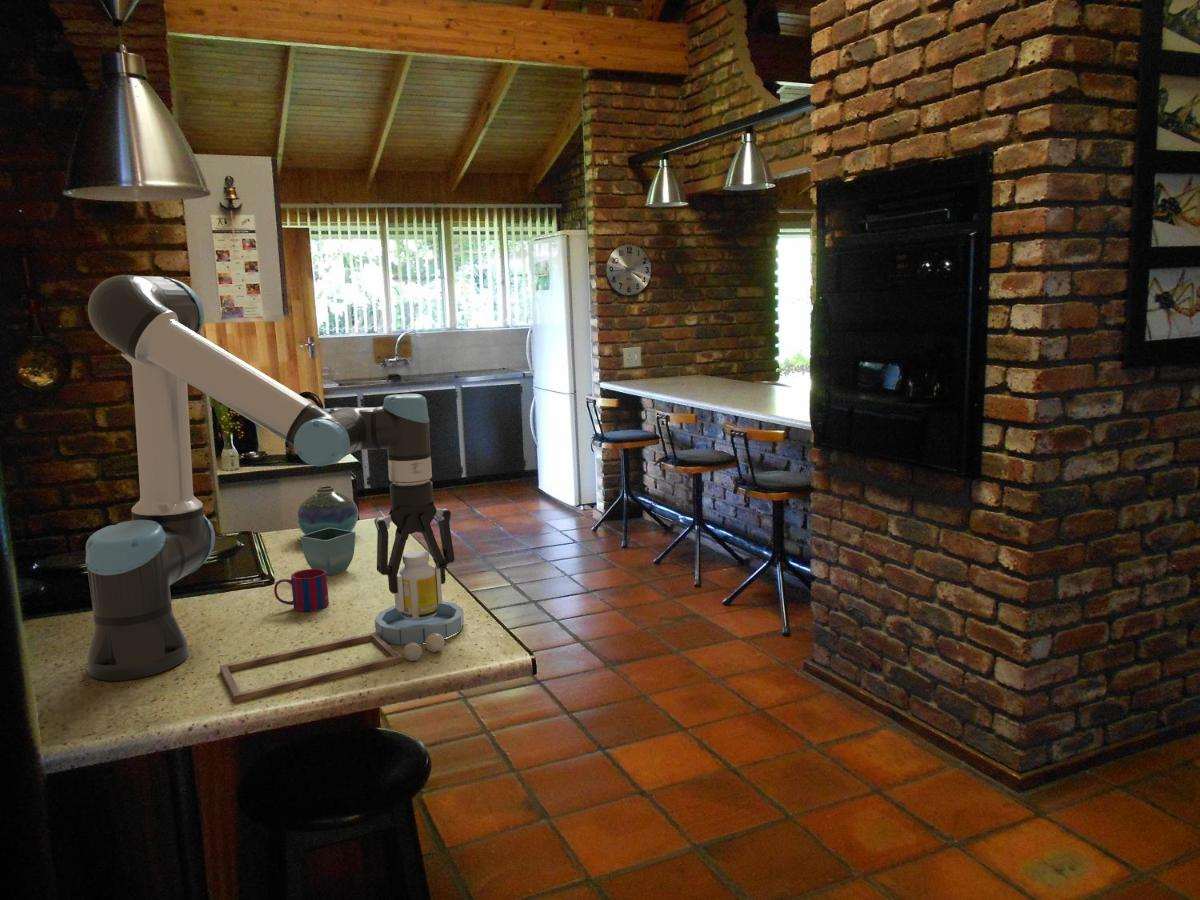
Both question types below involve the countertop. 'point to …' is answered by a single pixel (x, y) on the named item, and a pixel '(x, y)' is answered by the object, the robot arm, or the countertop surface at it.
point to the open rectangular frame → (308, 680)
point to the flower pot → (329, 549)
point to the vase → (327, 511)
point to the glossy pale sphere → (412, 651)
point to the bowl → (418, 624)
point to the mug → (307, 590)
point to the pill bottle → (418, 586)
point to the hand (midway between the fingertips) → (418, 605)
